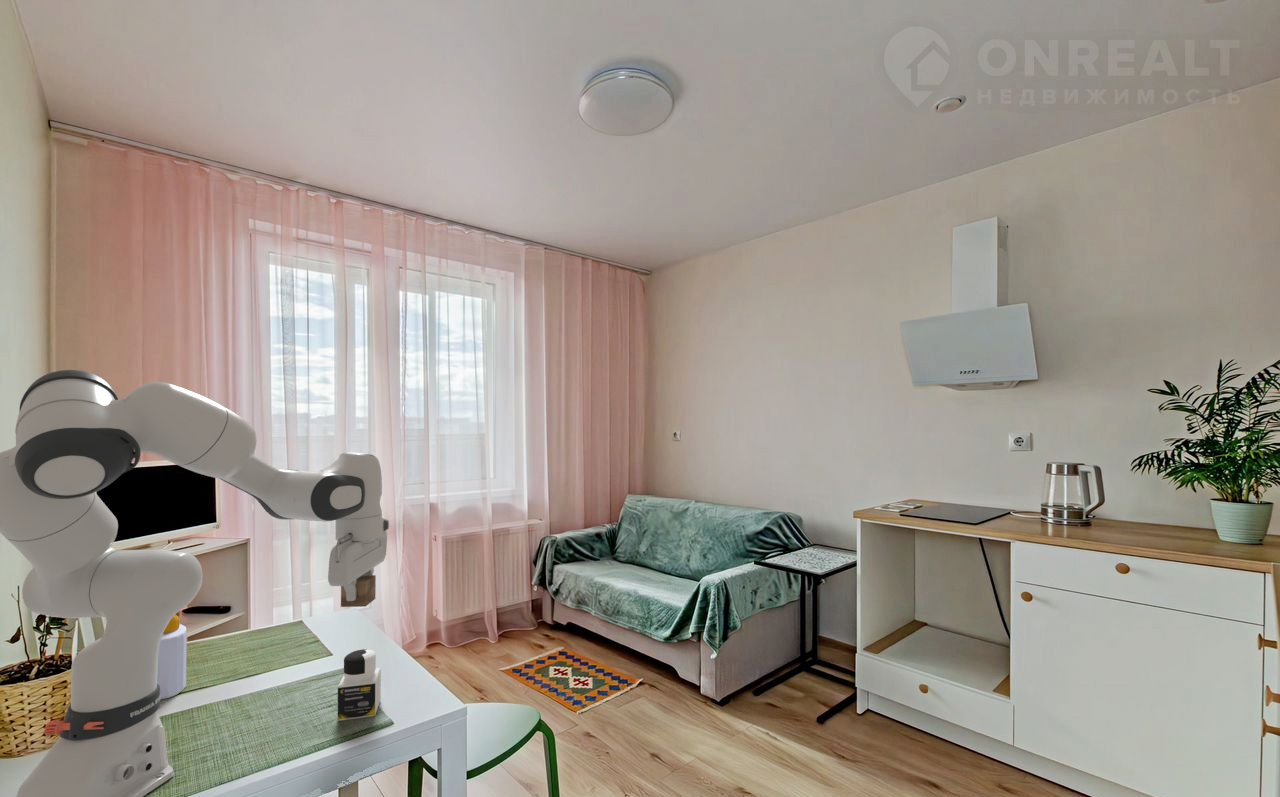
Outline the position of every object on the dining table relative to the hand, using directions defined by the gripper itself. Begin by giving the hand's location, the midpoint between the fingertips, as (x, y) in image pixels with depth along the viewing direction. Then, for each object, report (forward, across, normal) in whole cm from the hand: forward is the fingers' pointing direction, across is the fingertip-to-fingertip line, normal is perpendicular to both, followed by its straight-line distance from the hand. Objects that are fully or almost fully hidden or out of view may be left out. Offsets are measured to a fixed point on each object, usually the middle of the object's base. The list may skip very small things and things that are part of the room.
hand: (358, 595), depth 123 cm
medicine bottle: (+24, 0, 0) cm, 24 cm away
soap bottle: (+24, +13, +49) cm, 56 cm away
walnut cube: (+2, 0, 0) cm, 2 cm away
